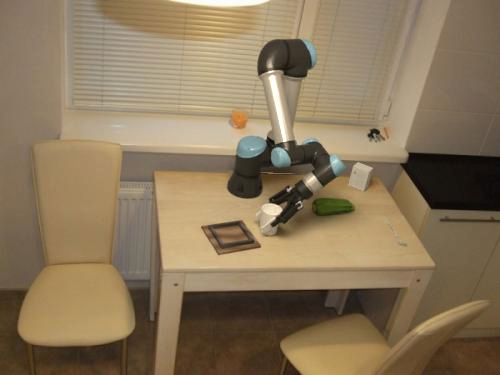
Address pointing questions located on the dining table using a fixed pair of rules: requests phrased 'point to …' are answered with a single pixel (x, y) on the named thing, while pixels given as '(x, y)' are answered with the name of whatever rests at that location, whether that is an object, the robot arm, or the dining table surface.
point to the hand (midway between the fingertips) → (260, 223)
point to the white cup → (269, 217)
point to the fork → (394, 231)
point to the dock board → (230, 237)
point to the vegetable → (331, 206)
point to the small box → (360, 176)
